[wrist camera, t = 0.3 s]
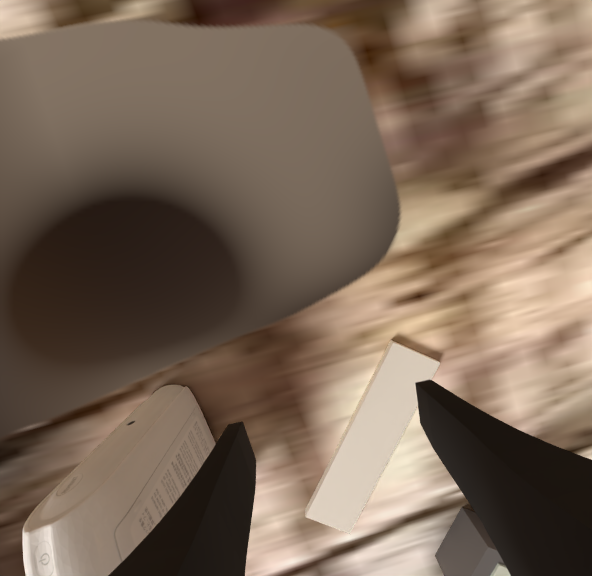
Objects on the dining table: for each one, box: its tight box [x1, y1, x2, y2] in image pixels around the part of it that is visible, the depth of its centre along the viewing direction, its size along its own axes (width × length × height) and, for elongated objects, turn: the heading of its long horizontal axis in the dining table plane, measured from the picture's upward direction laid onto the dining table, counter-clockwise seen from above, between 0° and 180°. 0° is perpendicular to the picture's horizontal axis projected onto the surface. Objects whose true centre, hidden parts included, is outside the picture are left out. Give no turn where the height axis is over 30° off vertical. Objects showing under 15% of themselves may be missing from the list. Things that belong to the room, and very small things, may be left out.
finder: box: [435, 508, 511, 576], centre depth 23 cm, size 5×8×4 cm, turn 67°
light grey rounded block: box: [23, 385, 216, 576], centre depth 17 cm, size 10×4×12 cm, turn 20°
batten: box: [305, 340, 440, 534], centre depth 23 cm, size 16×4×1 cm, turn 156°
